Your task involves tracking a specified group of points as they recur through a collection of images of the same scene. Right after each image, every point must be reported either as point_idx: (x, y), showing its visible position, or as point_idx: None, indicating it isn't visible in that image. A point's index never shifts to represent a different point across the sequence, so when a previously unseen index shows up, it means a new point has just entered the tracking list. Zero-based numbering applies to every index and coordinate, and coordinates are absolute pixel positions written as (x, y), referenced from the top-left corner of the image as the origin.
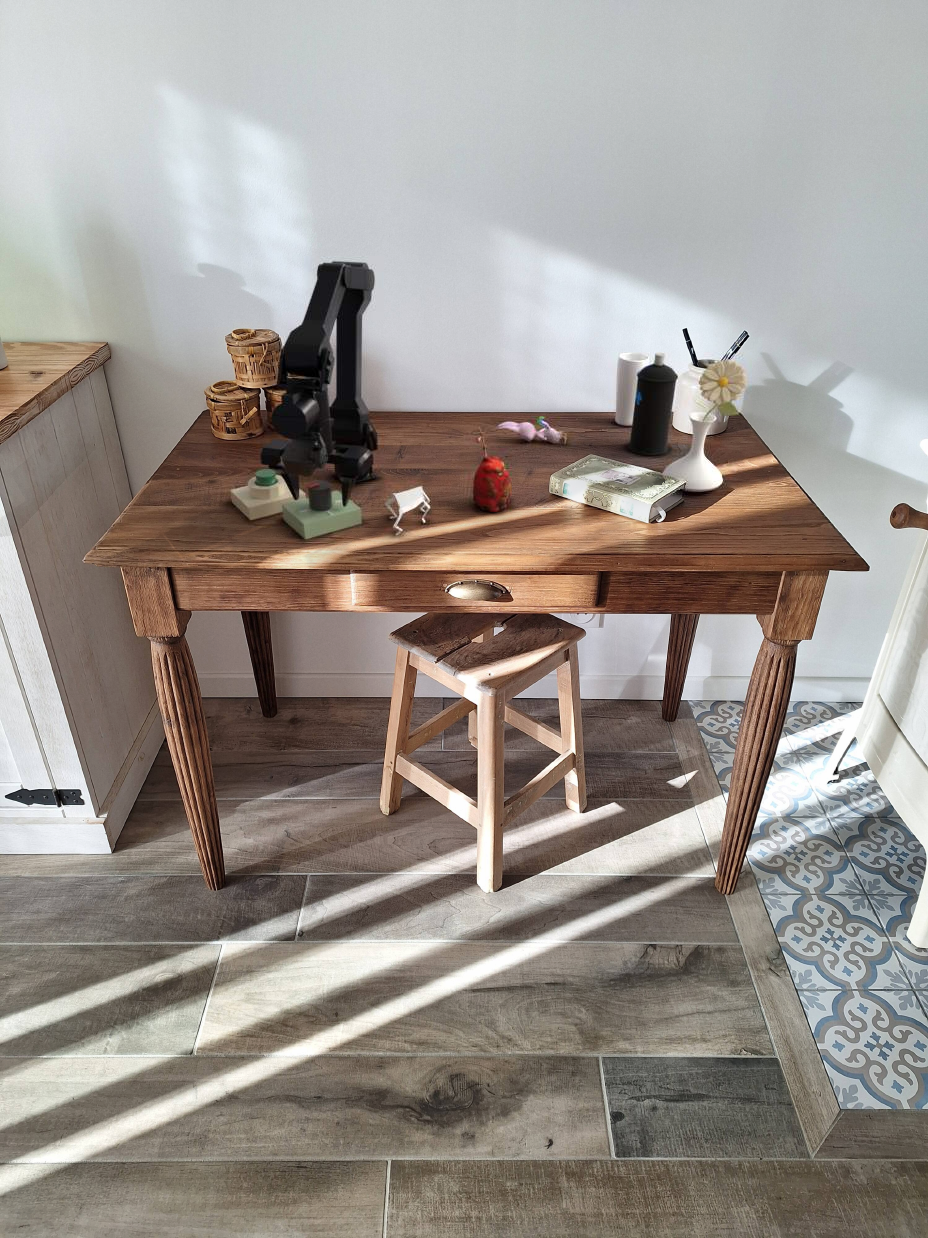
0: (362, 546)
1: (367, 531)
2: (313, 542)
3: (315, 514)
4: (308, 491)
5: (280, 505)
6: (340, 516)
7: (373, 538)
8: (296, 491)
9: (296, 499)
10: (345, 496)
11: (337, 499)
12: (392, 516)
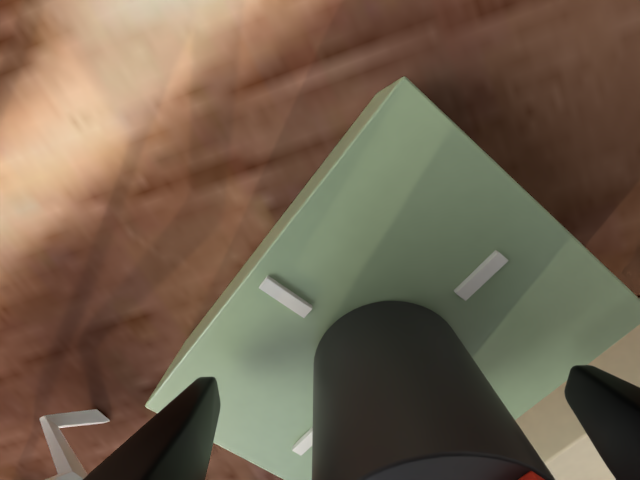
0: (33, 124)
1: (116, 284)
2: (317, 76)
3: (376, 254)
4: (522, 432)
5: (632, 353)
6: (223, 300)
7: (43, 228)
8: (627, 431)
9: (578, 369)
10: (125, 449)
11: None
12: (82, 422)
